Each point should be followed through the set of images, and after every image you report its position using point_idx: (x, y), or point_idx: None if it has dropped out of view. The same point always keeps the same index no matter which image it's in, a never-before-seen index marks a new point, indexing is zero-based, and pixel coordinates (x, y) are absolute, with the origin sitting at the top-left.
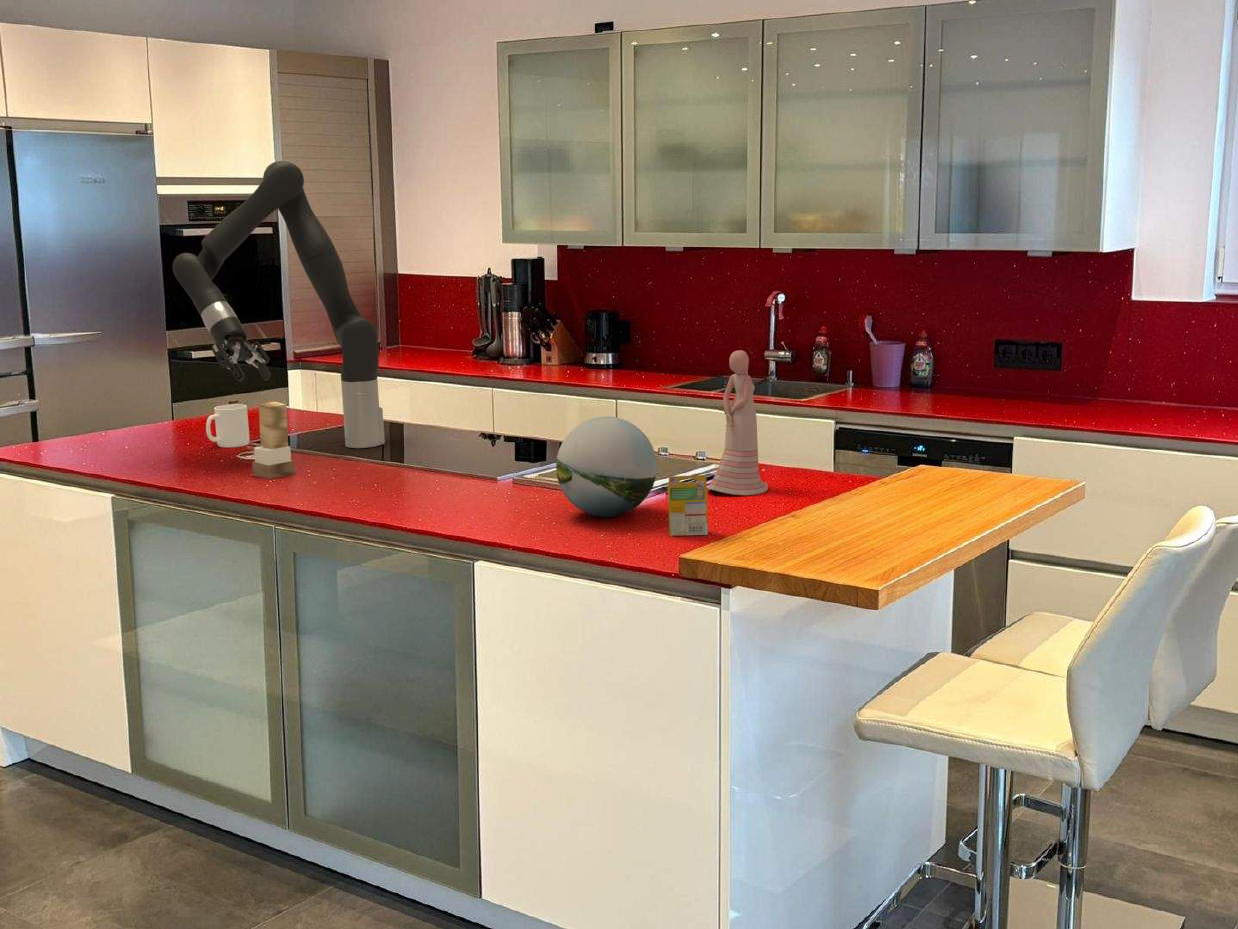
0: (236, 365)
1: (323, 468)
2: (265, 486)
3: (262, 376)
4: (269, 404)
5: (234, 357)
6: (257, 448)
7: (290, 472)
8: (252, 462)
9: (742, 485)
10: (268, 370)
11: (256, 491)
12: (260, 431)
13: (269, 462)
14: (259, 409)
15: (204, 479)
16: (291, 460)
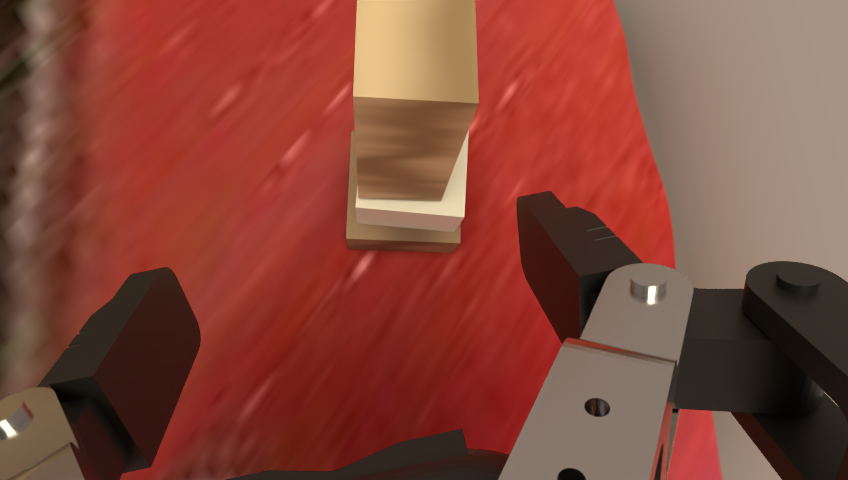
0: (612, 263)
1: (239, 138)
2: (522, 84)
3: (183, 365)
4: (434, 54)
5: (644, 344)
6: (465, 190)
7: None
8: (459, 240)
9: None
10: (105, 309)
11: (575, 55)
12: (450, 172)
13: None
14: (471, 117)
15: None
16: (355, 143)
